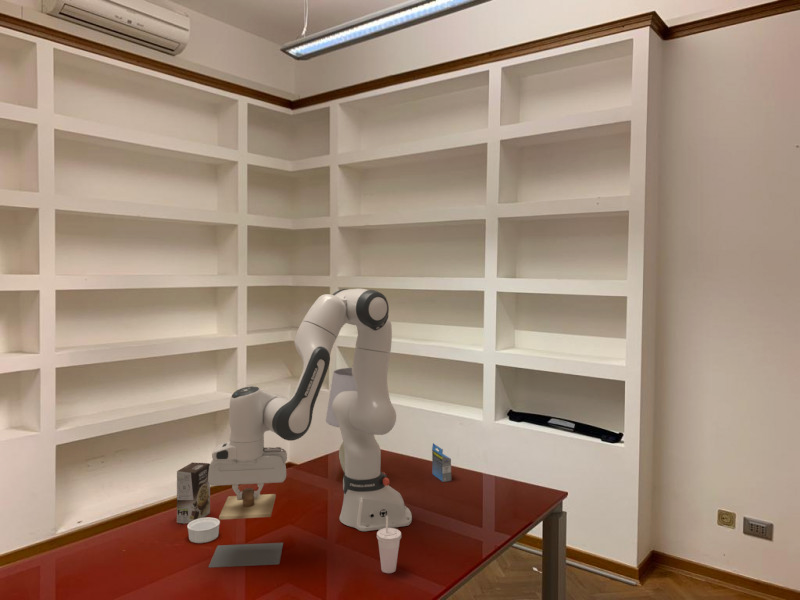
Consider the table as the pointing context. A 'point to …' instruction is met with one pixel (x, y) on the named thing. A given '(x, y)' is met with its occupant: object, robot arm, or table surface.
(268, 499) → the lid
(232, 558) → the mat
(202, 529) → the ramekin
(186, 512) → the coffee box
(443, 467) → the label tape box
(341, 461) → the lamp
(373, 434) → the robot arm
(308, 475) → the table surface
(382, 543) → the smoothie
